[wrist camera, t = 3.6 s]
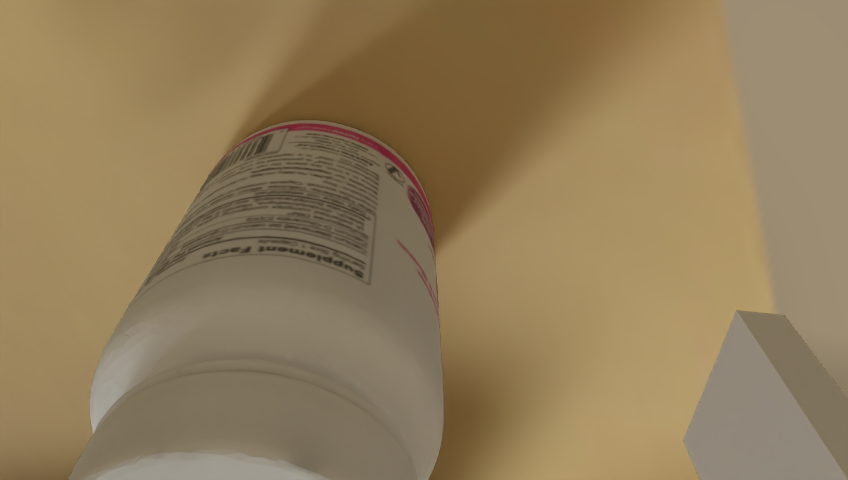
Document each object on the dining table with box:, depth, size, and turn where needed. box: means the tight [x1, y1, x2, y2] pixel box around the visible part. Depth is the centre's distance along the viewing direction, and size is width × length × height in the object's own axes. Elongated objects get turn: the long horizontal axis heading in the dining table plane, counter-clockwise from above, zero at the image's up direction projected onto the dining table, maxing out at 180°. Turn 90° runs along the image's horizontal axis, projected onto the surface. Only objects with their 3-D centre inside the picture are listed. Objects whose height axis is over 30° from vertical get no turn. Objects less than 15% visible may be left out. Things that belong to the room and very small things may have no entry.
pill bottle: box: [68, 120, 444, 480], centre depth 11 cm, size 5×5×8 cm
